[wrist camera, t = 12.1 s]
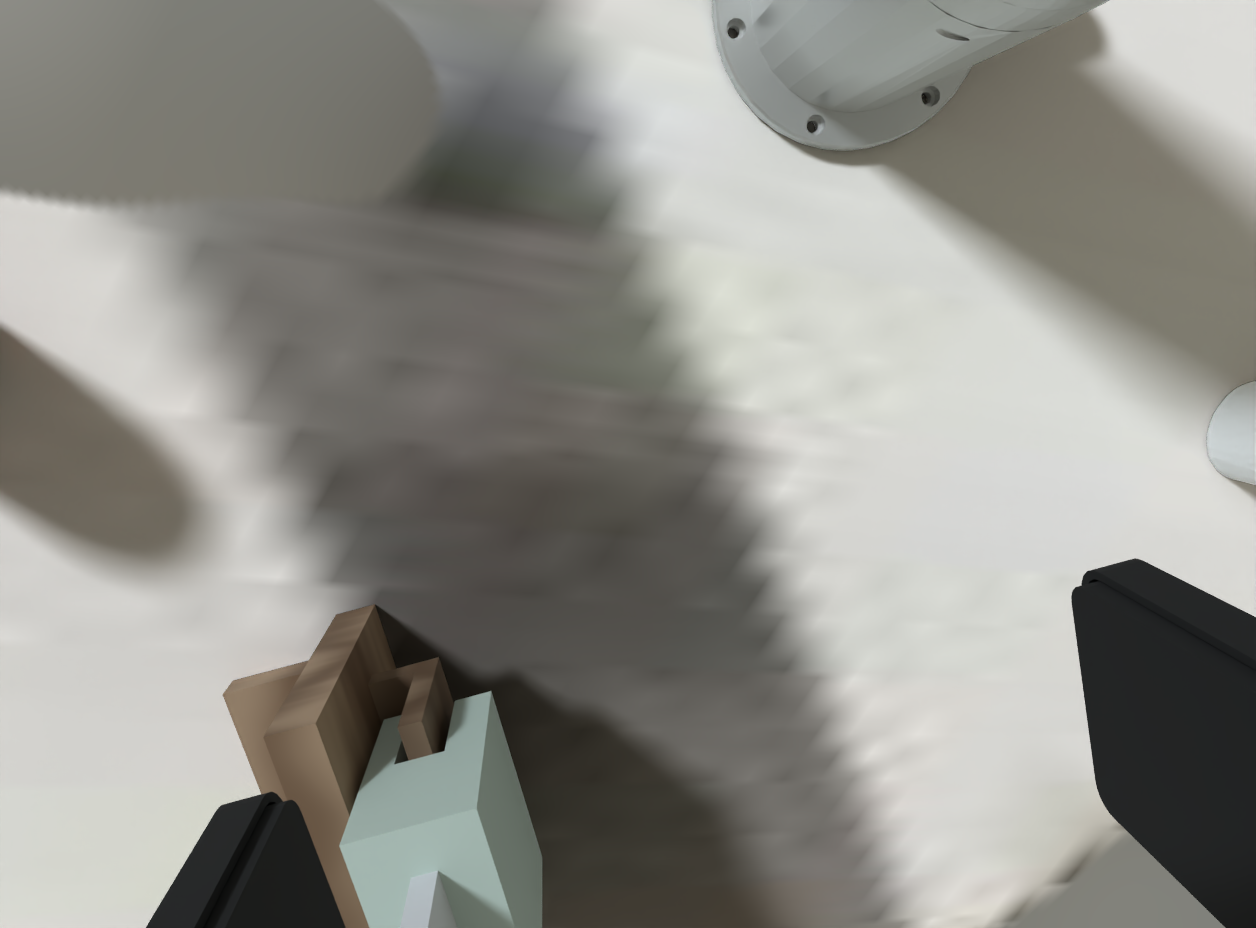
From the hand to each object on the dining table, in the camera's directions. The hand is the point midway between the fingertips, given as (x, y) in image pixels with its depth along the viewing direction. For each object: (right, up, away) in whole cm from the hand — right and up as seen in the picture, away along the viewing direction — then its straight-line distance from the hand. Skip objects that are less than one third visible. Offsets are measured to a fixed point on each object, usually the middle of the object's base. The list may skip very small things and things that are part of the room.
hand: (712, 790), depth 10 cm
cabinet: (-9, -11, +31) cm, 34 cm away
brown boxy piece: (-14, -11, +36) cm, 41 cm away
